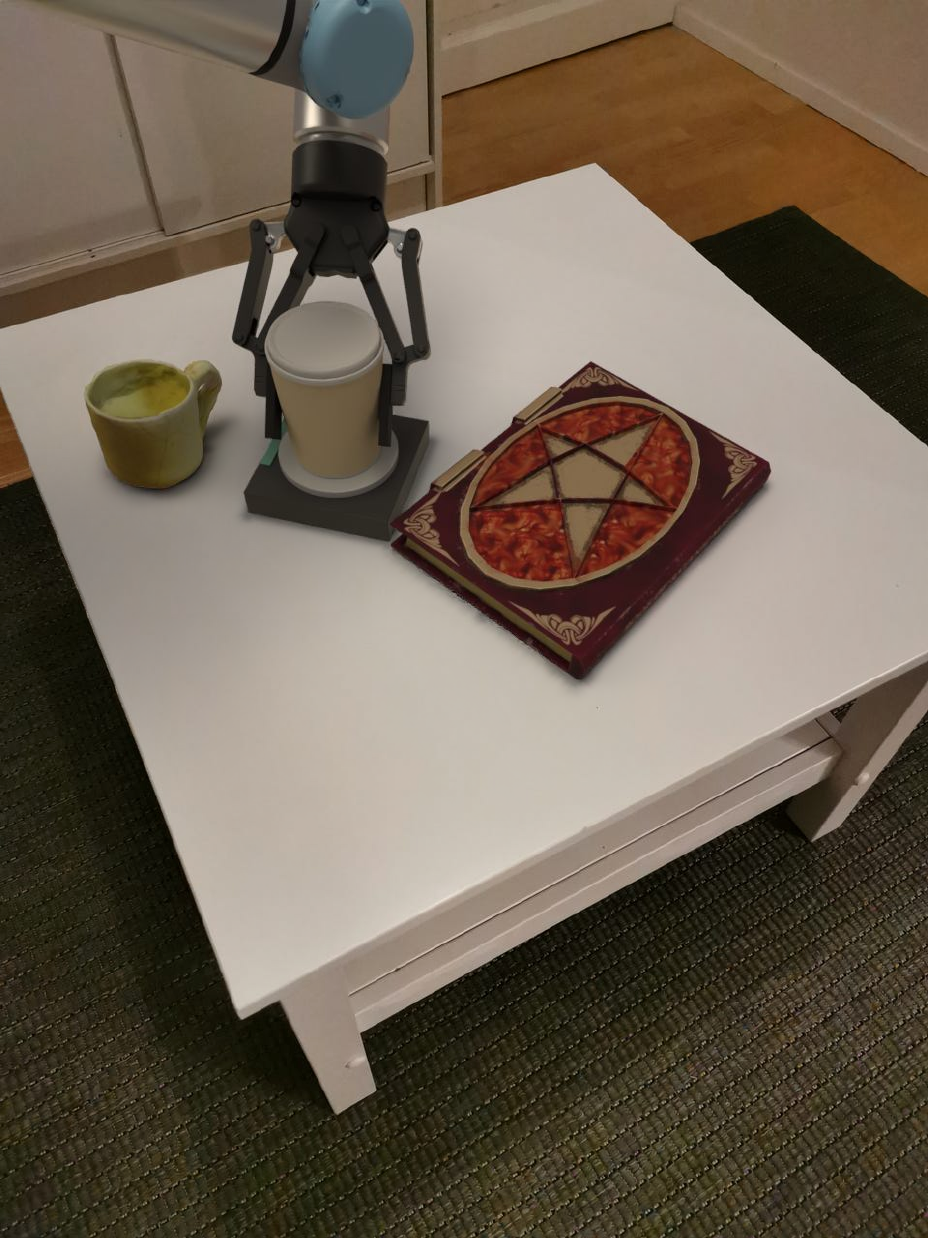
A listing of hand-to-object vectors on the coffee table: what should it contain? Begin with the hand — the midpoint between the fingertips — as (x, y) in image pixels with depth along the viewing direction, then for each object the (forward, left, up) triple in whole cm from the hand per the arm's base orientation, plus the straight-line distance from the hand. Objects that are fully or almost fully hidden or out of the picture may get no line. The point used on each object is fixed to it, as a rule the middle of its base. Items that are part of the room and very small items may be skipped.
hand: (328, 442), depth 76 cm
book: (+21, +4, -7) cm, 23 cm away
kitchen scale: (-1, +3, -7) cm, 8 cm away
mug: (-17, +2, -7) cm, 18 cm away
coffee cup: (-1, +3, -4) cm, 5 cm away
